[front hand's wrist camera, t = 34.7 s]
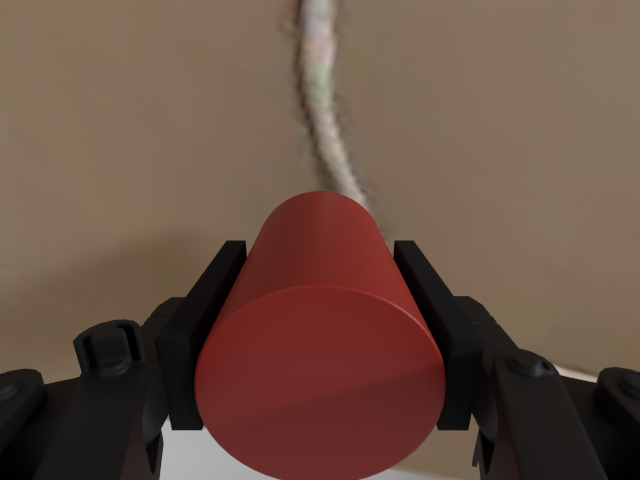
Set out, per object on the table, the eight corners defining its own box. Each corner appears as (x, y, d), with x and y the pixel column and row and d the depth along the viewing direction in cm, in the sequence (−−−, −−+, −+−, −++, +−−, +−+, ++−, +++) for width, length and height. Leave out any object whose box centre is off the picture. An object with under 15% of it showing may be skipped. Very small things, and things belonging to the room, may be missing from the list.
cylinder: (232, 243, 17) (138, 382, 8) (330, 163, 15) (343, 229, 7) (311, 326, 18) (303, 517, 10) (406, 260, 17) (494, 412, 8)
